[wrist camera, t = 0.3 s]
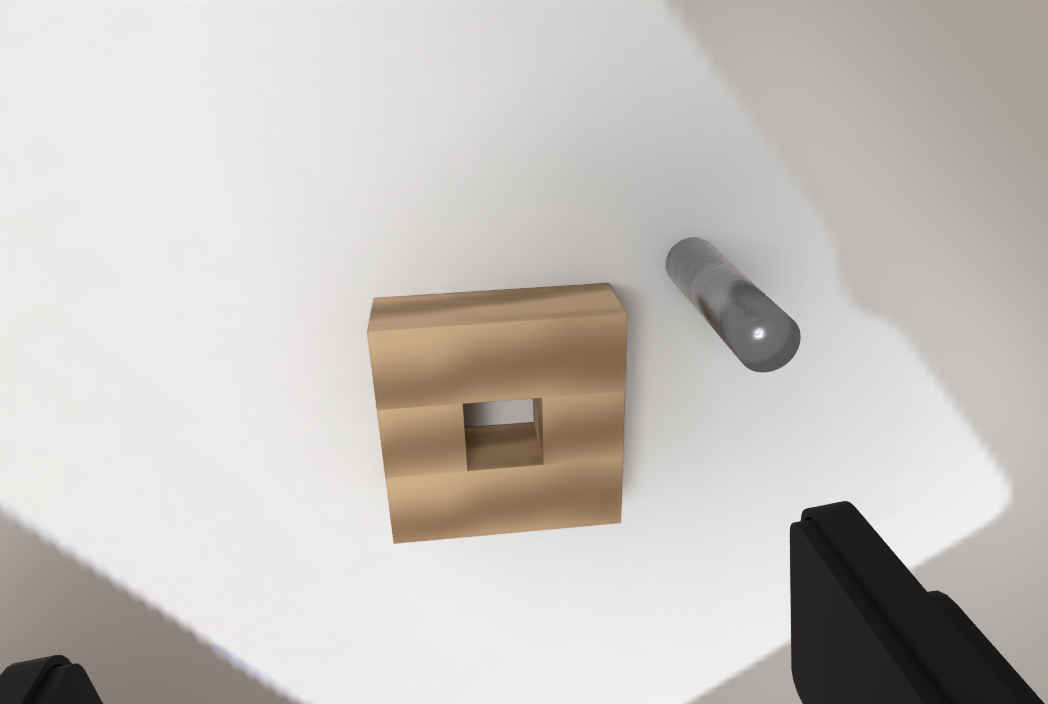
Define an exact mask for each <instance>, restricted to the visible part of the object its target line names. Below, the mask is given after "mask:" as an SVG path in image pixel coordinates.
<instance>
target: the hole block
mask: <svg viewBox="0 0 1048 704" xmlns="http://www.w3.org/2000/svg"><path fill="white" fill-rule="evenodd" d="M367 336H368V344H369V351H370V359H371V367H372V375H373V383H374V391H375V399H376V407H377V415H378V423H379V431H380V439H381V447H382V455H383V462H384V470H385V478H386V486H387V494H388V502H389V510H390V518H391V526H392V534H393V542H394V544H395V543H406V542H417V541H428V540H439V539H450V538H461V537H472V536H483V535H494V534H505V533H516V532H527V531H538V530H549V529H560V528H571V527H582V526H593V525H604V524H615V523H621V507H622V474H623V441H624V408H625V375H626V342H627V313H626V311H625V309H624V308H623V306H622V304H621V303H620V301H619V300H618V298H617V296H616V295H615V293H614V291H613V290H612V288H611V286H610V285H609V283H601V284H586V285H570V286H555V287H539V288H524V289H508V290H493V291H477V292H462V293H446V294H431V295H415V296H399V297H384V298H374V299H373V304H372V309H371V314H370V319H369V324H368V329H367ZM530 398H533V410H534V422H531V423H519V424H506V425H494V426H481V427H468V428H464V415H463V404H465V403H478V402H491V401H504V400H517V399H530Z"/></svg>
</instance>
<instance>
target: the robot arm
mask: <svg viewBox="0 0 1048 704" xmlns="http://www.w3.org/2000/svg"><path fill="white" fill-rule="evenodd" d="M790 588H791V660H792V661H791V662H792V663H791V664H792V666H791V667H792V675H793V680H794V684H795V687H796V689H797V693H798V695H799V697H800V699H801V701H802V703H803V704H1044V702H1043V701H1042V700H1041V699H1040V698H1039V697H1038V696H1037V695H1036V693H1035V692H1034V691H1033V690H1032V689H1031V688H1030V687H1029V685H1027V683H1026V682H1025V681H1024V680H1023V679H1022V678H1021V676H1020V675H1019V674H1018V673H1017V672H1016V671H1015V670H1014V669H1013V667H1012V666H1011V665H1010V664H1009V663H1008V662H1007V661H1006V659H1005V658H1004V657H1003V656H1002V655H1001V654H1000V653H999V652H998V650H997V649H996V648H995V647H994V646H993V645H992V644H991V642H990V641H989V640H988V639H987V638H986V637H985V636H984V634H983V633H982V632H981V631H980V630H979V629H978V628H977V627H976V625H975V624H974V623H973V622H972V621H971V620H970V619H969V618H968V616H967V615H966V614H965V613H964V612H963V611H962V609H961V608H960V607H959V606H958V605H957V604H956V603H955V602H954V601H953V600H952V599H951V598H950V597H948V596H947V595H946V594H944V593H942V592H940V591H930V592H927V591H926V590H925V589H924V588H923V586H922V585H921V584H920V583H919V582H918V581H917V579H916V578H915V577H914V576H913V575H912V573H911V572H910V571H909V570H908V569H907V567H906V566H905V565H904V564H903V563H902V562H901V560H900V559H899V558H898V557H897V556H896V555H895V553H894V552H893V551H892V550H891V549H890V547H889V546H888V545H887V544H886V543H885V542H884V540H883V539H882V538H881V537H880V536H879V534H878V533H877V532H876V531H875V530H874V529H873V527H872V526H871V525H870V524H869V523H868V522H867V520H866V519H865V518H864V517H863V516H862V514H861V513H860V512H859V511H858V510H857V509H856V507H855V506H854V505H852V504H851V503H850V502H847V501H843V502H837V503H832V504H827V505H822V506H817V507H812V508H807V509H805V510H803V512H802V515H801V521H799V522H794V523H792V524H791V526H790ZM0 704H103V703H102V701H101V699H100V697H99V695H98V694H97V692H96V690H95V688H94V686H93V684H92V682H91V681H90V679H89V677H88V675H87V673H86V672H85V670H84V669H83V667H82V666H81V665H79V664H72V663H71V662H70V661H69V659H68V658H66V657H65V656H62V655H54V656H50V657H44V658H39V659H34V660H29V661H24V662H19V663H14V664H12V665H10V666H8V667H7V668H6V669H5V670H4V671H3V673H2V674H1V675H0Z"/></svg>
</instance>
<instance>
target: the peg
mask: <svg viewBox="0 0 1048 704" xmlns="http://www.w3.org/2000/svg"><path fill="white" fill-rule="evenodd" d="M666 269H667V273H668V275H669V276H670V278H671V279H672V280H673V281H674V283H675V284H676V285H677V286H678V287H679V289H680V290H681V291H682V292H683V293H684V294H685V296H686V297H687V298H688V299H689V300H690V302H691V303H692V304H693V305H694V306H695V308H696V309H697V310H698V311H699V312H700V313H701V315H702V316H703V317H704V318H705V319H706V321H707V322H708V323H709V324H710V325H711V327H712V328H713V329H714V330H715V331H716V332H717V334H718V335H719V336H720V337H721V338H722V340H723V341H724V342H725V343H726V344H727V345H728V347H729V348H730V349H731V350H732V351H733V353H734V354H735V355H736V356H737V357H738V359H739V360H740V361H741V362H742V363H743V364H744V365H745V366H746V367H747V368H749V369H750V370H753V371H756V372H770V371H774V370H777V369H779V368H781V367H783V366H784V365H786V364H787V363H788V362H789V361H790V360H791V359H792V358H793V357H794V355H795V354H796V352H797V350H798V348H799V345H800V330H799V327H798V325H797V324H796V322H795V321H794V320H793V319H792V318H791V317H790V316H788V315H787V314H786V313H785V312H784V311H783V310H782V309H781V308H780V307H778V306H777V305H776V304H775V303H774V302H773V301H772V300H771V299H770V298H768V297H767V296H766V295H765V294H764V293H763V292H762V291H761V290H759V289H758V288H757V287H756V286H755V285H754V284H753V283H752V282H751V281H749V280H748V279H747V278H746V277H745V276H744V275H743V274H742V273H741V272H739V271H738V270H737V269H736V268H735V267H734V266H733V265H732V264H731V263H729V262H728V261H727V260H726V259H725V258H724V257H723V256H722V255H720V254H719V253H718V252H717V251H716V250H715V249H714V248H713V247H712V246H710V245H709V244H708V243H707V242H706V241H704V240H702V239H699V238H688V239H685V240H682V241H680V242H679V243H677V244H676V245H675V246H674V247H673V248H672V249H671V251H670V252H669V254H668V257H667V260H666Z"/></svg>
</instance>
